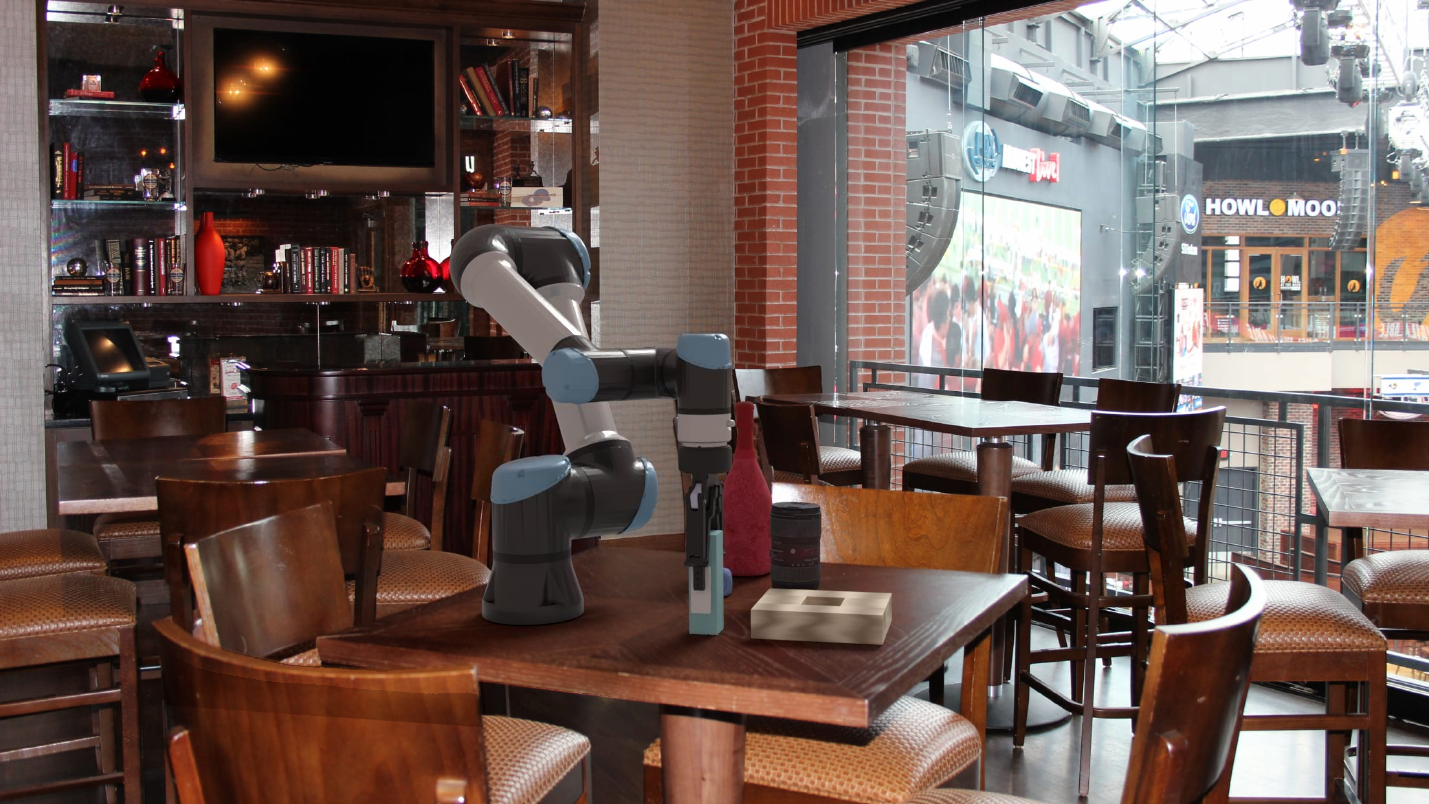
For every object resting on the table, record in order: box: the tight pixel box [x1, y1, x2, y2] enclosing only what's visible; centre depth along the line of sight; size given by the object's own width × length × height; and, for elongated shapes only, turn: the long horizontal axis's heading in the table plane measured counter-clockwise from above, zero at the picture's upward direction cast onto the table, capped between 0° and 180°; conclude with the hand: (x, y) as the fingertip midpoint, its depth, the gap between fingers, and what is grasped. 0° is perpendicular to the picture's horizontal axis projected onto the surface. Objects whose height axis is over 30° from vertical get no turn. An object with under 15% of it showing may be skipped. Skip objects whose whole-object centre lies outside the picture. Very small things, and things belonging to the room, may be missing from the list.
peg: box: [688, 530, 725, 636], centre depth 173 cm, size 4×4×14 cm
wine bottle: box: [723, 400, 774, 577], centre depth 214 cm, size 10×10×30 cm
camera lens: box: [769, 501, 823, 590], centre depth 193 cm, size 8×8×15 cm
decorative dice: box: [723, 568, 733, 597], centre depth 197 cm, size 4×4×4 cm
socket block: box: [750, 588, 893, 645], centre depth 173 cm, size 18×14×4 cm
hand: (706, 607), depth 173 cm, fingers open, 6 cm apart
